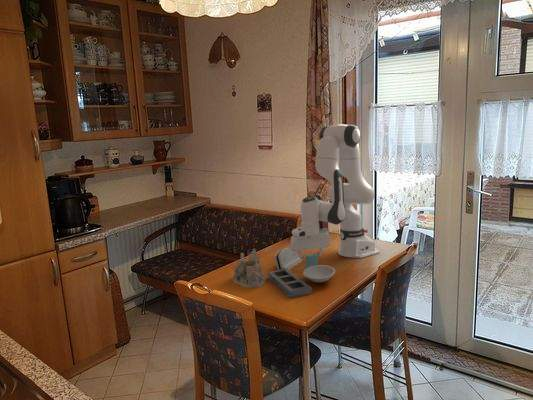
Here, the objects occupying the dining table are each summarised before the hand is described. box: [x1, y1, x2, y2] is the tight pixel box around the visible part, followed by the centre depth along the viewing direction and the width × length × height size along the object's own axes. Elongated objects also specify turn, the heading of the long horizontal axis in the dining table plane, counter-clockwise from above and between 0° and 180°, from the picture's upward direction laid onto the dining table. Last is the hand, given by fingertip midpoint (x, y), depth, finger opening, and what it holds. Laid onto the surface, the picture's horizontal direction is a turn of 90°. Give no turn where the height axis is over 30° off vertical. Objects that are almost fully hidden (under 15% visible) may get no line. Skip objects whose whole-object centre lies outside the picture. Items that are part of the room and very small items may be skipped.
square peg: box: [305, 253, 319, 269], centre depth 205 cm, size 4×4×8 cm
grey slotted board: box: [267, 269, 312, 299], centre depth 188 cm, size 10×26×3 cm, turn 21°
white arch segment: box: [274, 247, 303, 271], centre depth 215 cm, size 17×5×10 cm, turn 146°
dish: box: [302, 264, 336, 283], centre depth 191 cm, size 18×14×5 cm
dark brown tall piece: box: [314, 193, 329, 230], centre depth 259 cm, size 9×11×28 cm
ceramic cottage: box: [232, 248, 266, 289], centre depth 195 cm, size 16×16×15 cm
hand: (310, 257), depth 204 cm, fingers open, 8 cm apart
